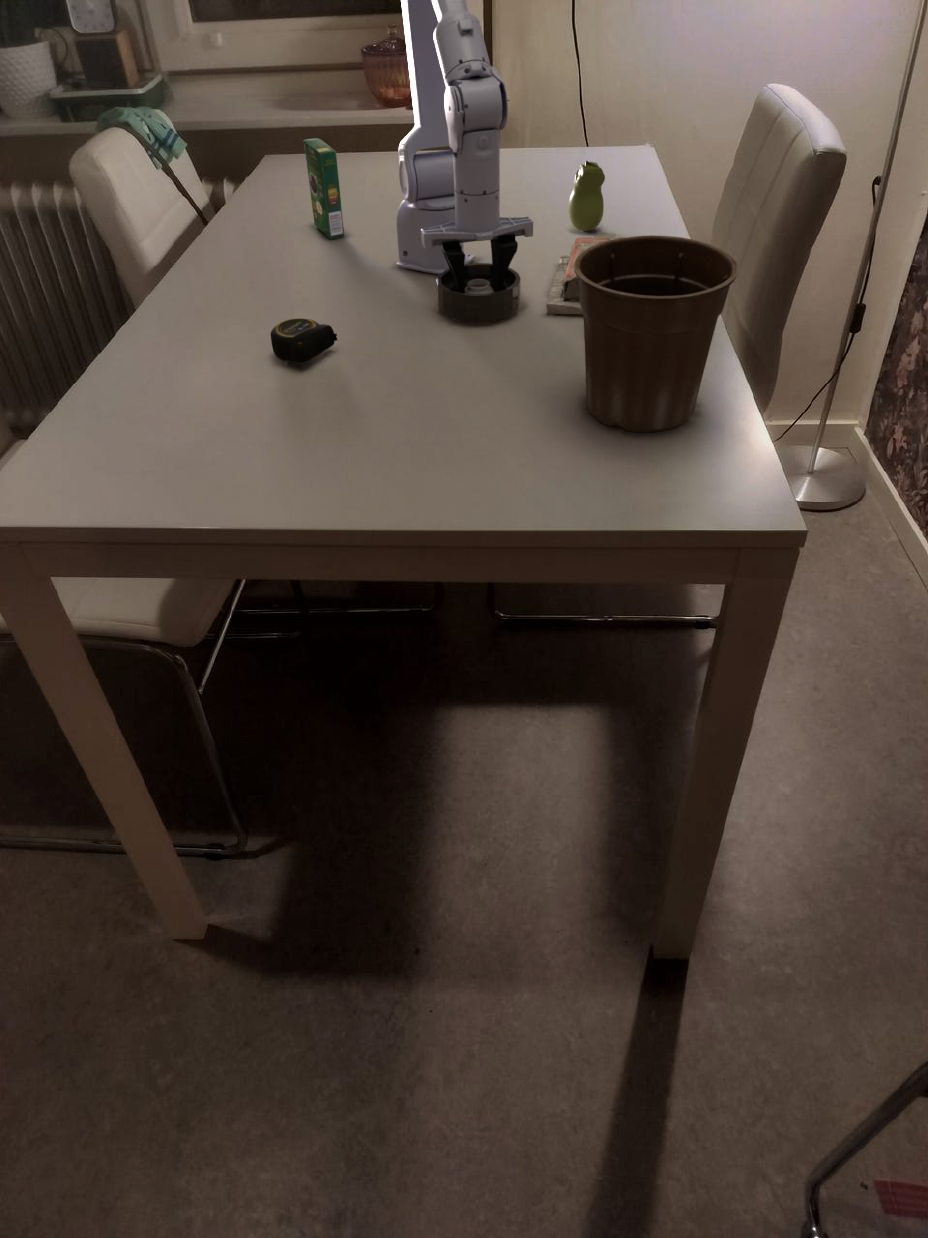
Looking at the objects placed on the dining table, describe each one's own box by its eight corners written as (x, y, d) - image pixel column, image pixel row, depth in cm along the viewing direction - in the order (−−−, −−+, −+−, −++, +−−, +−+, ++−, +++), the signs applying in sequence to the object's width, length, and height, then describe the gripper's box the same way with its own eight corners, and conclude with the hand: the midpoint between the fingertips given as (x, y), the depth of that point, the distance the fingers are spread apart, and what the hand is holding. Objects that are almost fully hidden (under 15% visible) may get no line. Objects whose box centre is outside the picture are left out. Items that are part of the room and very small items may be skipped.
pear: (594, 221, 144) (598, 155, 138) (607, 232, 141) (613, 164, 134) (562, 226, 143) (566, 159, 136) (576, 237, 139) (579, 169, 133)
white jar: (453, 305, 120) (480, 315, 117) (452, 284, 118) (480, 293, 115) (477, 294, 122) (504, 303, 120) (477, 273, 120) (504, 282, 118)
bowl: (423, 317, 118) (421, 286, 116) (462, 287, 126) (461, 257, 123) (496, 332, 114) (496, 301, 112) (533, 301, 122) (534, 270, 119)
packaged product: (561, 232, 128) (630, 235, 126) (559, 265, 131) (626, 268, 129) (546, 279, 115) (623, 283, 113) (545, 315, 118) (619, 319, 116)
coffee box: (346, 237, 142) (336, 148, 133) (330, 240, 141) (318, 151, 133) (330, 222, 148) (319, 136, 139) (313, 225, 147) (302, 139, 138)
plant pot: (612, 458, 91) (628, 307, 80) (541, 391, 102) (546, 250, 91) (741, 423, 96) (772, 276, 85) (659, 362, 107) (678, 225, 96)
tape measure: (304, 373, 107) (299, 344, 105) (262, 360, 110) (257, 331, 108) (339, 351, 112) (335, 323, 109) (298, 339, 114) (294, 311, 112)
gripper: (427, 204, 105) (433, 313, 115) (541, 191, 108) (538, 299, 117) (415, 187, 111) (421, 293, 120) (525, 175, 113) (523, 280, 122)
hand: (478, 295), depth 119 cm, fingers open, 4 cm apart
